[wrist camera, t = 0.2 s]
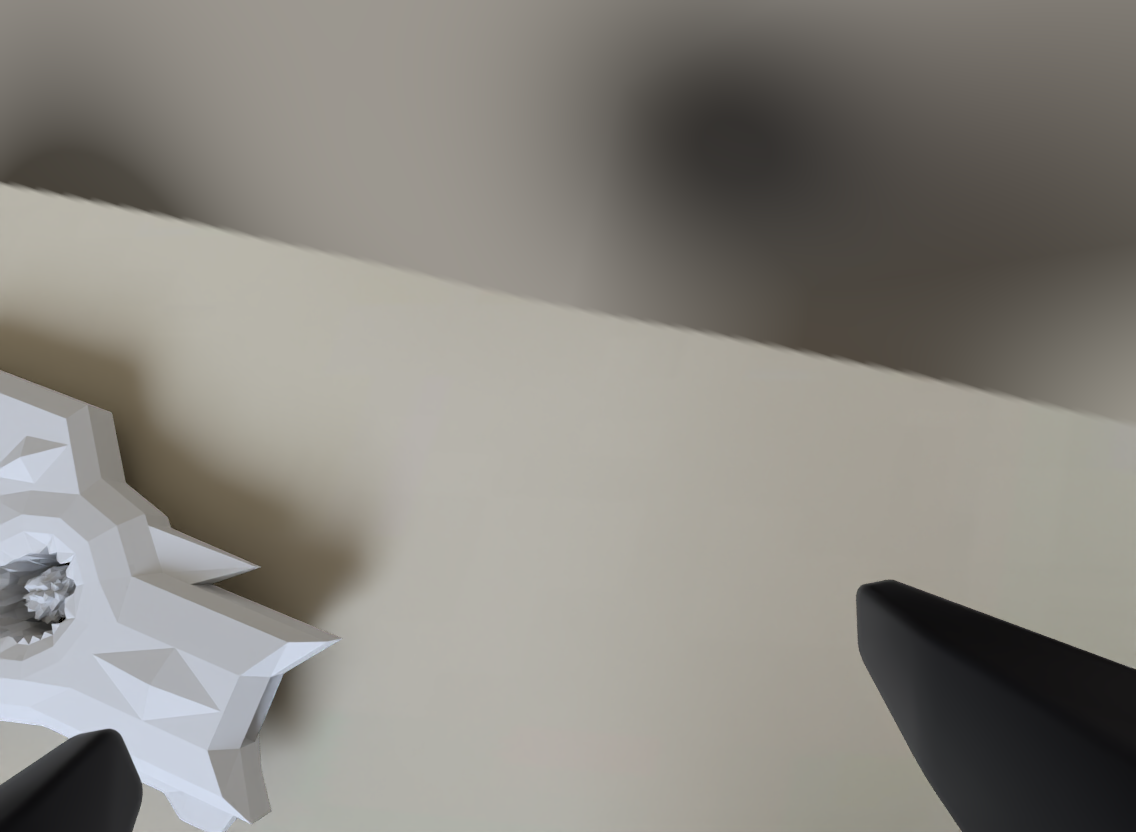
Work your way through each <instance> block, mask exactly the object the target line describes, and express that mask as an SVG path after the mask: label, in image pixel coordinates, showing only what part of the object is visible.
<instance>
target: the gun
mask: <svg viewBox="0 0 1136 832" xmlns="http://www.w3.org/2000/svg"><path fill="white" fill-rule="evenodd" d="M68 562H70V564H69V566H68V565H64V564H65V563H68ZM57 565H63V566H62V567H56V566H57ZM257 568H260V566H258V565H256V564H253V563H251V562H249V561H247V560H244V559H242V558H240V557H237V556H235V555H233V554H230V553H228V552H226V551H223V550H221V549H219V548H216V547H214V546H212V545H209V544H207V543H205V542H202V541H200V540H198V539H196V538H193V537H191V536H189V535H186V534H184V533H182V532H179V531H177V530H175V529H172V528H171V526H170V523H169V520H168V517H167V516H166V515H165V514H163V513H162V512H161V511H160V510H159V509H157V508H156V507H155V506H154V505H152V504H151V503H150V502H149V501H148V500H146V499H145V498H144V497H143V496H141V495H140V494H139V493H138V492H137V491H135V490H134V489H133V488H132V487H130V486H129V485H128V484H127V483H126V481H125V476H124V471H123V466H122V461H121V456H120V450H119V445H118V440H117V435H116V430H115V425H114V420H113V415H112V412H109V411H107V410H104V409H102V408H99V407H96V406H94V405H91V404H88V403H86V402H83V401H81V400H78V399H75V398H73V397H70V396H68V395H65V394H62V393H60V392H57V391H54V390H52V389H49V388H47V387H44V386H41V385H39V384H36V383H33V382H31V381H28V380H26V379H23V378H20V377H18V376H15V375H13V374H10V373H7V372H5V371H2V370H0V721H8V722H16V723H24V724H32V725H40V726H45V727H47V728H49V729H51V730H53V731H55V732H57V733H59V734H61V735H64V736H66V737H68V738H72V737H73V736H75V735H78V734H82V733H87V732H92V731H97V730H103V729H114V730H116V731H117V732H118V733H120V734H121V736H122V738H123V740H124V742H125V745H126V747H127V749H128V751H129V754H130V756H131V758H132V761H133V763H134V765H135V768H136V770H137V772H138V774H139V777H140V779H141V782H142V783H144V784H146V785H149V786H151V787H153V788H155V789H157V790H159V791H161V792H163V793H164V794H165V796H166V797H167V799H168V801H169V802H170V804H171V806H172V807H173V809H174V810H175V812H176V814H177V815H178V817H179V818H180V820H182V821H184V822H186V823H188V824H190V825H192V826H195V827H197V828H199V829H201V830H203V831H205V832H225V831H226V830H227V829H228V828H229V827H230V826H231V824H232V823H233V822H234V821H235V820H236V819H237V818H239V819H242V820H244V821H246V822H248V823H250V824H253V823H254V822H256V821H257V820H259V819H261V818H262V817H264V816H265V815H267V814H268V813H270V812H271V807H270V803H269V799H268V795H267V791H266V786H265V782H264V778H263V774H262V770H261V756H260V743H259V731H260V729H261V727H262V724H263V722H264V719H265V717H266V715H267V712H268V710H269V708H270V705H271V703H272V701H273V698H274V696H275V693H276V691H277V689H278V686H279V684H280V682H281V679H282V677H283V675H284V673H285V672H287V671H289V670H290V669H292V668H294V667H295V666H297V665H299V664H301V663H302V662H304V661H306V660H307V659H309V658H311V657H312V656H314V655H316V654H317V653H319V652H321V651H322V650H324V649H326V648H327V647H329V646H331V645H333V644H334V643H336V642H338V641H339V640H341V639H343V638H340V637H338V636H335V635H333V634H331V633H328V632H326V631H323V630H321V629H319V628H316V627H314V626H311V625H309V624H307V623H304V622H302V621H299V620H297V619H295V618H292V617H290V616H287V615H285V614H282V613H280V612H278V611H275V610H273V609H270V608H268V607H266V606H263V605H261V604H258V603H256V602H254V601H251V600H249V599H246V598H244V597H242V596H239V595H237V594H234V593H232V592H230V591H227V590H225V589H222V588H220V587H218V586H215V585H213V583H216V582H219V581H222V580H225V579H228V578H231V577H234V576H237V575H240V574H243V573H245V572H248V571H251V570H254V569H257ZM60 617H66V619H65V620H64V621H63V622H62V623H58V621H59V619H60ZM56 622H57V624H56Z"/></svg>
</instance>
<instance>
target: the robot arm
mask: <svg viewBox="0 0 1136 832" xmlns="http://www.w3.org/2000/svg"><path fill="white" fill-rule="evenodd" d="M856 605H857V633H858V646H859V651H860V654H861V657H862V660H863V662H864V664H865V666H866V668H867V670H868V672H869V673H870V675H871V677H872V679H873V681H874V683H875V685H876V687H877V688H878V690H879V692H880V694H881V696H882V698H883V700H884V701H885V703H886V705H887V707H888V709H889V711H890V713H891V715H892V716H893V718H894V720H895V722H896V724H897V726H898V728H899V729H900V731H901V733H902V735H903V737H904V739H905V741H906V743H907V744H908V746H909V748H910V750H911V752H912V754H913V756H914V757H915V759H916V761H917V763H918V765H919V766H920V768H921V770H922V772H923V773H924V775H925V777H926V778H927V780H928V781H929V783H930V784H931V786H932V788H933V789H934V791H935V792H936V794H937V795H938V797H939V798H940V800H941V801H942V803H943V804H944V806H945V807H946V809H947V810H948V812H949V813H950V815H951V816H952V818H953V819H954V820H955V822H956V823H957V825H958V826H959V828H960V829H961V831H962V832H1136V669H1133V668H1130V667H1128V666H1125V665H1122V664H1119V663H1117V662H1114V661H1111V660H1109V659H1106V658H1103V657H1101V656H1098V655H1095V654H1092V653H1090V652H1087V651H1084V650H1082V649H1079V648H1076V647H1073V646H1071V645H1068V644H1065V643H1063V642H1060V641H1057V640H1055V639H1052V638H1049V637H1046V636H1044V635H1041V634H1038V633H1036V632H1033V631H1030V630H1027V629H1025V628H1022V627H1019V626H1017V625H1014V624H1011V623H1009V622H1006V621H1003V620H1000V619H998V618H995V617H992V616H990V615H987V614H984V613H982V612H979V611H976V610H973V609H971V608H968V607H965V606H963V605H960V604H957V603H954V602H952V601H949V600H946V599H944V598H941V597H938V596H936V595H933V594H930V593H927V592H925V591H922V590H919V589H917V588H914V587H911V586H908V585H906V584H903V583H900V582H898V581H895V580H884V581H879V582H874V583H868V584H863V585H861V586H860V587H859V589H858V591H857V595H856ZM142 795H143V792H142V783H141V779H140V777H139V774H138V772H137V770H136V768H135V765H134V763H133V761H132V758H131V756H130V754H129V751H128V749H127V747H126V745H125V742H124V740H123V738H122V736H121V734H120V733H118V732H117V731H116V730H114V729H103V730H97V731H92V732H87V733H82V734H78V735H75V736H73V737H72V738H70V739H68V740H67V741H65V742H64V743H62V744H61V745H59V746H58V747H56V748H55V749H54V750H52V751H51V752H49V753H48V754H46V755H45V756H43V757H42V758H40V759H39V760H37V761H36V762H34V763H33V764H31V765H30V766H28V767H27V768H25V769H24V770H22V771H21V772H19V773H18V774H16V775H15V776H13V777H12V778H10V779H9V780H7V781H6V782H4V783H3V784H1V785H0V832H132V831H133V827H134V824H135V821H136V818H137V815H138V812H139V809H140V806H141V802H142Z"/></svg>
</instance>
